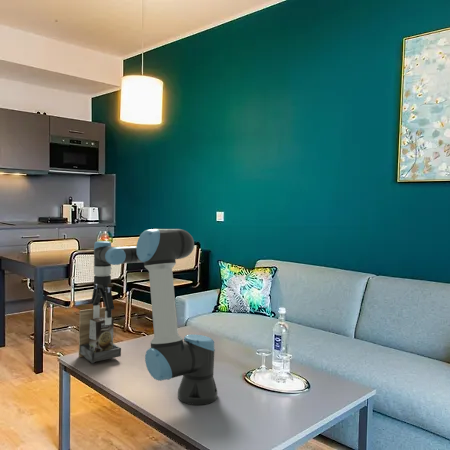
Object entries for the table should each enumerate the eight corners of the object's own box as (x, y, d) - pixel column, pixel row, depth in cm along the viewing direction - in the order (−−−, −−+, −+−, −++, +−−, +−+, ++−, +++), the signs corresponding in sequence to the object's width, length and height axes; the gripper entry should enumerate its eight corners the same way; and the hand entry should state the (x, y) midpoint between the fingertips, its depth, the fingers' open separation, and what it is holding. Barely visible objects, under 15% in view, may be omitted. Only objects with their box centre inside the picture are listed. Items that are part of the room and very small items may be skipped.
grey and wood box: (121, 360, 203) (122, 313, 201) (91, 367, 194) (92, 317, 193) (106, 351, 214) (107, 306, 213) (78, 357, 205) (79, 310, 204)
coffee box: (96, 357, 197) (97, 321, 197) (88, 353, 202) (89, 319, 201) (113, 352, 204) (114, 318, 204) (105, 349, 209) (106, 315, 208)
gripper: (122, 277, 194) (121, 326, 195) (99, 271, 213) (98, 316, 213) (106, 278, 189) (105, 328, 190) (84, 272, 208) (83, 318, 209)
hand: (102, 322), depth 202 cm, fingers open, 12 cm apart
